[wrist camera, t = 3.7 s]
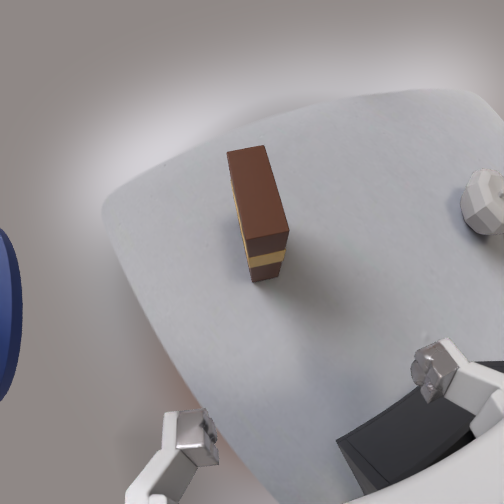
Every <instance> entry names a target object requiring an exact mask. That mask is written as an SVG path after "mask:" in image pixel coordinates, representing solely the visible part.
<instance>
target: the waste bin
mask: <svg viewBox="0 0 504 504" xmlns="http://www.w3.org/2000/svg"><path fill="white" fill-rule="evenodd" d="M475 363H478V364H480V365H483V366H486V367H488V368H491V369H493V370H496V371H498V372H501V373H503V374H504V361H484V362H475ZM475 417H476V415H474V414H472V413H470V412H469V411H467V410H465V409H463V408H462V407H460V406H458V405H457V404H455V403H453V402H451V401H450V400H448V399H446V398H445V397H444V396H443V397H441V398H439V399H437V400H435V401H433V402H430V403H428V404H427V402H426V400H425V399H424V397H423V396H422V394H421V387H420V386H418V387H417V388H415V389H414V390H413V391H411V392H410V393H409V394H407V395H406V396H405V397H403V398H402V399H401V400H399V401H398V402H396V403H395V404H394V405H392V406H391V407H389V408H388V409H386V410H385V411H383V412H382V413H380V414H379V415H377V416H376V417H374V418H373V419H371V420H369V421H368V422H366V423H365V424H363V425H361V426H360V427H358V428H356V429H355V430H353V431H351V432H350V433H348V434H346V435H344V436H343V437H341V438H339V439H337V440H336V442H337V444H338V446H339V448H340V450H341V452H342V454H343V455H344V457H345V459H346V461H347V463H348V465H349V467H350V468H351V470H352V472H353V474H354V476H355V478H356V479H357V481H358V483H359V485H360V487H361V489H362V490H363V492H364V494H365V496H366V495H368V494H371V493H374V492H376V491H379V490H381V489H384V488H386V487H389V486H391V485H393V484H395V483H398V482H400V481H402V480H404V479H406V478H409V477H411V476H413V475H415V474H417V473H419V472H421V471H423V470H425V469H427V468H428V467H430V466H432V465H434V464H436V463H438V462H439V461H441V460H443V459H445V458H446V457H448V456H450V455H451V454H453V453H455V452H456V451H458V450H459V449H461V448H463V447H464V446H466V445H467V444H469V443H470V442H472V441H473V440H475V439H476V437H475V436H474V434H473V432H472V431H471V429H470V427H469V426H470V423H471V422H472V420H473V419H474V418H475Z"/></svg>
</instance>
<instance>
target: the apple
mask: <svg viewBox="0 0 504 504" xmlns="http://www.w3.org/2000/svg"><path fill="white" fill-rule="evenodd" d="M460 206H461V210H462V213H463V216H464V220H465V222H466V223H467V224H468V225H469V226H470V227H471V228H472V229H473V230H474V231H475V232H476V233H479V234H491V235H497V234H504V177H503V176H502V175H501V174H500V173H499V172H498V171H495V170H490V169H484V168H483V169H480V170H477V171H475V172H473V174H472V176H471V178H470V180H469V182H468V184H467V186H466V188H465V190H464V192H463V195H462V197H461V202H460Z"/></svg>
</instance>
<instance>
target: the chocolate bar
mask: <svg viewBox="0 0 504 504" xmlns="http://www.w3.org/2000/svg"><path fill="white" fill-rule="evenodd" d="M227 158H228V164H229V170H230V175H231V185H232V191H233V196H234V201H235V205H236V210H237V215H238V220H239V225H240V230H241V234H242V239H243V243H244V248H245V252H246V257H247V262H248V266H249V271H250V275H251V280H252V282H257V281H262V280H266V279H271V278H275V277H278V276H279V272H280V268H281V264H282V261H283V260H284V256H285V252H286V249H285V247H286V243H287V239H288V235H289V227H288V223H287V220H286V216H285V213H284V209H283V206H282V203H281V199H280V196H279V192H278V189H277V186H276V182H275V179H274V176H273V172H272V169H271V166H270V163H269V159H268V156H267V153H266V150H265V146H264V145H261V146H256V147H250V148H245V149H240V150H235V151H230V152H227Z"/></svg>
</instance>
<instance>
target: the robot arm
mask: <svg viewBox="0 0 504 504" xmlns="http://www.w3.org/2000/svg"><path fill="white" fill-rule="evenodd" d="M414 357H415V359H416V360H415V361H414V362H413V363H412V365H411V376H412V379H413V381H414V383H415V384H416V385H418V386H420V387H421V394H422V396H423V397H424V399H425V400H426V402H427V404H428V403H430V402H433V401H435V400H437V399H439V398H441V397H443V396H444V397H445V398H446V399H448V400H450V401H451V402H453V403H455V404H457V405H458V406H460V407H462V408H463V409H465V410H467V411H469V412H470V413H472V414H474V415H476V417H475V418H474V419H473V420H472V422H471V423H470V426H469V427H470V429H471V431H472V432H473V434H474V436H475V437H476V439H475V440H473V441H472V442H470V443H469V444H467V445H466V446H464V447H463V448H461V449H459V450H458V451H456V452H455V453H453V454H451V455H450V456H448V457H446V458H445V459H443V460H441V461H439V462H438V463H436V464H434V465H432V466H430V467H428V468H427V469H425V470H423V471H421V472H419V473H417V474H415V475H413V476H411V477H409V478H406V479H404V480H402V481H400V482H398V483H395V484H393V485H391V486H389V487H386V488H384V489H381V490H379V491H376V492H374V493H371V494H368V495H366V496H363V497H360V498H357V499H354V500H351V501H348V502H345V503H342V504H504V374H503V373H501V372H498V371H496V370H493V369H491V368H488V367H486V366H483V365H480V364H478V363H475V362H473V361H471V362H469V361H468V360H467V359H466V358H465V356H464V355H463V354H462V353H461V351H460V350H459V349H458V348H457V347H456V345H455V344H454V343H453V342H452V341H451V339H450V338H448V337H446V338H443V339H441V340H439V341H437V342H434V343H432V344H430V345H428V346H426V347H423V348H421V349H419V350H417V351H416V352H415V355H414ZM216 441H217V432H216V427H215V424H214V422H213V420H212V418H209V416H208V411H207V410H206V408H203V409H195V410H185V411H173V412H166V413H165V414H164V419H163V433H162V450H158V451H157V452H156V453H155V455H154V456H153V457H152V459H151V460H150V461H149V463H148V464H147V465H146V466H145V468H144V469H143V470H142V472H141V473H140V474H139V475H138V477H137V478H136V479H135V481H134V482H133V483H132V484H131V486H130V487H129V488H128V489H127V491H126V497H125V504H179V503H178V502H179V500H180V499H181V497H182V495H183V494H184V492H185V490H186V488H187V486H188V485H189V483H190V481H191V480H192V478H193V476H194V474H195V473H196V471H197V469H198V468H197V467H202V466H212V465H219V456H218V449H217V448H216V446H215V445H214V444H215V443H216Z"/></svg>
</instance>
